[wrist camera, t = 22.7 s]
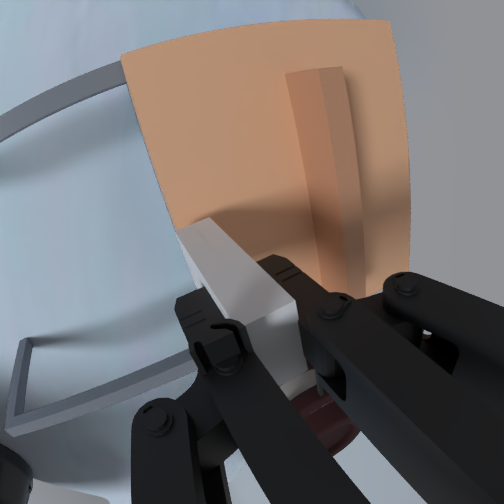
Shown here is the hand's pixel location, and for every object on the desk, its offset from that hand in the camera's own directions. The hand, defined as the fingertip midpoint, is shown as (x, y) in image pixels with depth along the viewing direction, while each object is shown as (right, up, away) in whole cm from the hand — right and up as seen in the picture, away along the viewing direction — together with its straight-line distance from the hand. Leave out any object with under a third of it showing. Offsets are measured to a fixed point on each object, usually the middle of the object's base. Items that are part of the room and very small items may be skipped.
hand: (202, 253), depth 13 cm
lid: (+5, +3, +3) cm, 7 cm away
